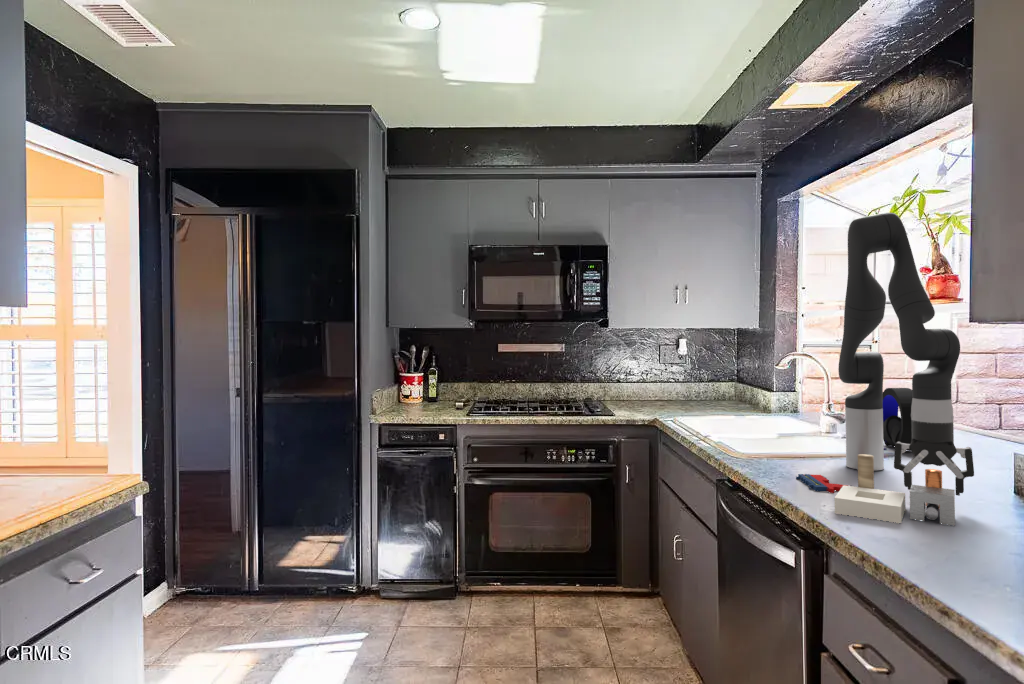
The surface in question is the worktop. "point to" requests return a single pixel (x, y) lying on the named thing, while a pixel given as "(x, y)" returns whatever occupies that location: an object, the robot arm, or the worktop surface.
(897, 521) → the socket block
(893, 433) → the headphones
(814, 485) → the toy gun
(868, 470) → the dowel
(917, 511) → the pin mount
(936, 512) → the lock pin
